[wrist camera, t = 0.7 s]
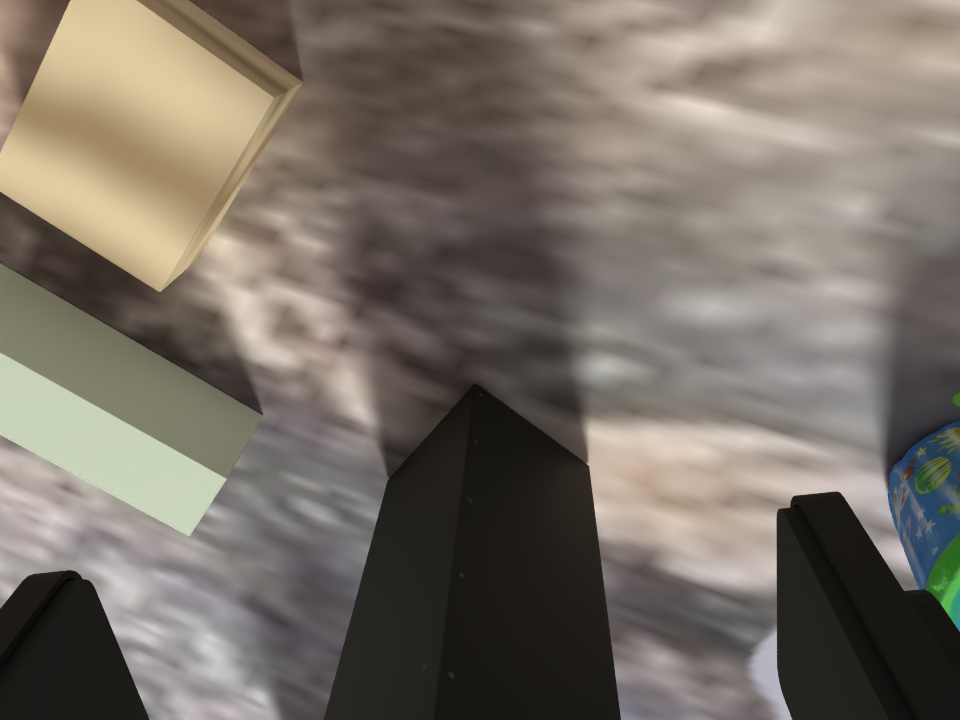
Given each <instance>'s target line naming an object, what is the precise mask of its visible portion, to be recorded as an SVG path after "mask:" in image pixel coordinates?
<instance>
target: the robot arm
mask: <svg viewBox="0 0 960 720" xmlns="http://www.w3.org/2000/svg"><path fill="white" fill-rule="evenodd" d="M777 668H778V676H779V682H780V686H781V690H782V693H783V696H784V699H785V701H786V704H787V707H788V709H789V712H790V714H791V717H792V720H960V631H959V630H958V628H957V627H956V625H955V624H954V623H953V621H952V620H951V618H950V617H949V615H948V614H947V612H946V611H945V609H944V608H943V606H942V605H941V604H940V602H939V601H938V600H937V599H936V597H935V596H934V595H933V594H932V593H931V592H929V591H927V590H925V589H921V590H911V591H904V590H903V589H902V587H901V586H900V584H899V583H898V581H897V579H896V578H895V576H894V575H893V573H892V572H891V570H890V568H889V567H888V565H887V564H886V562H885V561H884V559H883V558H882V556H881V554H880V553H879V551H878V550H877V548H876V547H875V545H874V543H873V542H872V540H871V539H870V537H869V536H868V534H867V533H866V531H865V529H864V528H863V526H862V525H861V523H860V522H859V520H858V518H857V517H856V515H855V514H854V512H853V511H852V509H851V508H850V506H849V504H848V503H847V501H846V500H845V498H844V497H843V496H842V494H841V493H839V492H827V493H818V494H808V495H798V496H794V497H793V498H792V500H791V506H790V508H783V509H779V510H778V512H777ZM0 720H149V717H148V715H147V712H146V710H145V708H144V705H143V703H142V700H141V698H140V696H139V693H138V691H137V688H136V686H135V684H134V681H133V679H132V676H131V674H130V672H129V669H128V667H127V664H126V662H125V659H124V657H123V655H122V652H121V650H120V647H119V645H118V643H117V640H116V638H115V635H114V633H113V631H112V628H111V626H110V623H109V621H108V619H107V616H106V614H105V611H104V609H103V607H102V604H101V602H100V599H99V597H98V595H97V592H96V590H95V588H94V586H93V584H92V583H91V582H90V581H89V580H85V579H84V580H83V579H82V577H81V576H80V575H79V574H78V573H77V572H76V571H71V570H68V571H59V572H49V573H39V574H33V575H30V576H28V577H27V578H26V579H24V580H23V581H22V583H21V584H20V585H19V586H18V588H17V589H16V590H15V591H14V593H13V594H12V595H11V596H10V598H9V599H8V600H7V601H6V602H5V604H4V605H3V606H2V607H1V609H0Z"/></svg>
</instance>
